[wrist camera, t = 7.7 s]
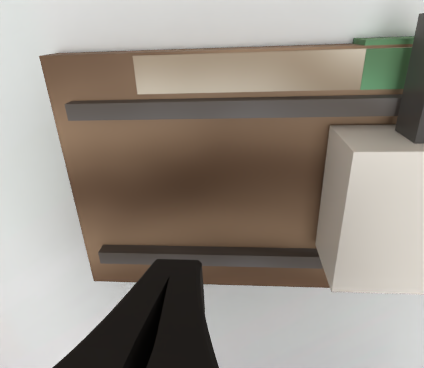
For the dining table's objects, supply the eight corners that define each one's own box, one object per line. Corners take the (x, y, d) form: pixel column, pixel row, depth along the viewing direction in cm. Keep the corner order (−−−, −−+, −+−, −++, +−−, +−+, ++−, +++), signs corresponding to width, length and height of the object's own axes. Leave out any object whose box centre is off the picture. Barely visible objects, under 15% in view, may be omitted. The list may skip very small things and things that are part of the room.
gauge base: (526, 273, 18) (562, 304, 16) (103, 263, 20) (88, 289, 18) (645, 28, 13) (718, 28, 11) (56, 48, 15) (28, 52, 13)
